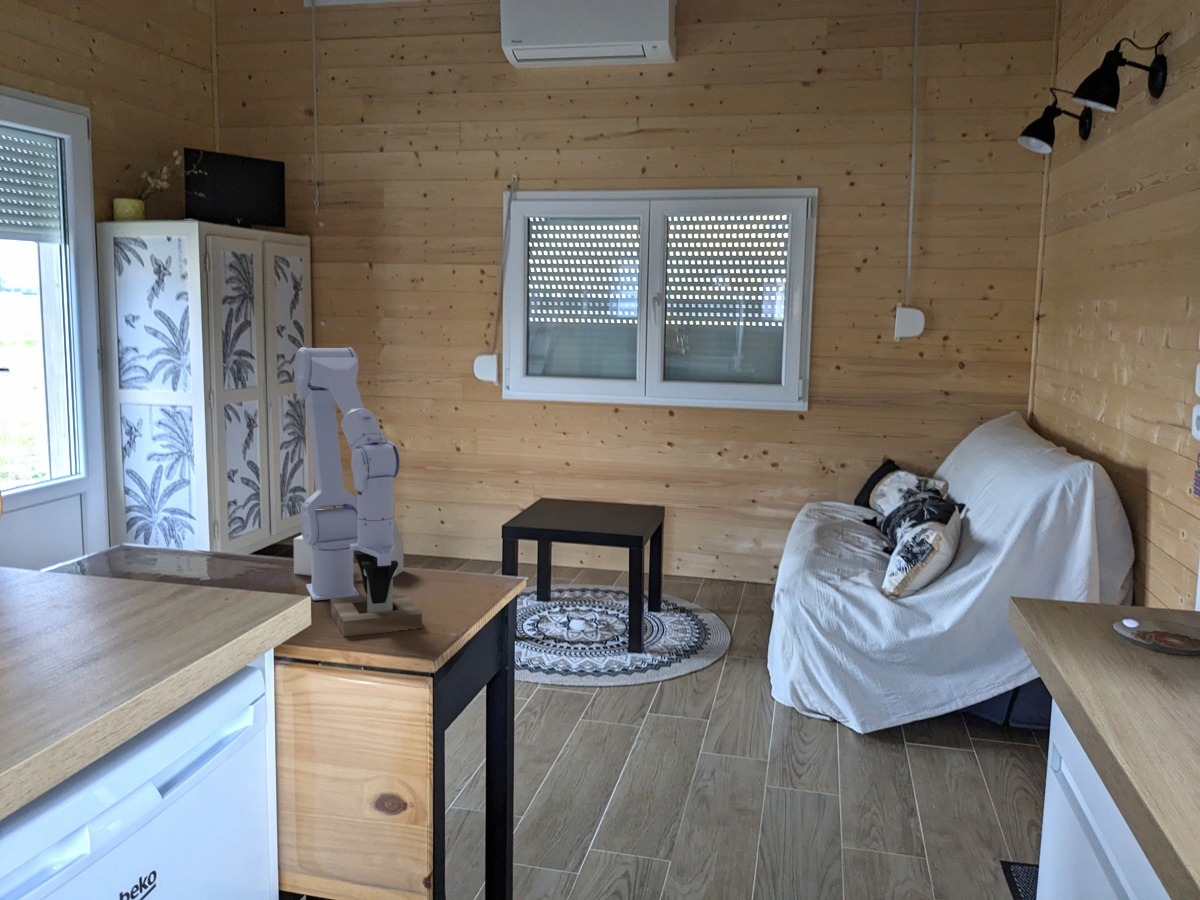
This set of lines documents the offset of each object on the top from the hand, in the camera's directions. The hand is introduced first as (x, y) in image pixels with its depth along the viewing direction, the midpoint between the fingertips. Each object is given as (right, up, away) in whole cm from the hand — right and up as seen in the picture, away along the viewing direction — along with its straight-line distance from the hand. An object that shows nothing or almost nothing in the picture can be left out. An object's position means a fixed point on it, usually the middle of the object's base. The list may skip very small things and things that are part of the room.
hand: (375, 598), depth 164 cm
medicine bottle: (-18, +1, +30) cm, 34 cm away
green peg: (+1, -4, +1) cm, 4 cm away
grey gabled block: (-4, 0, +29) cm, 29 cm away
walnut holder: (0, -4, +1) cm, 4 cm away
